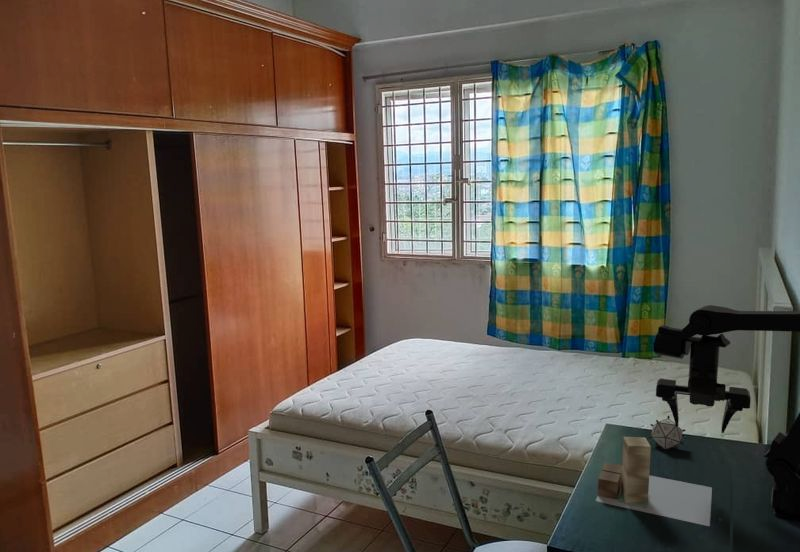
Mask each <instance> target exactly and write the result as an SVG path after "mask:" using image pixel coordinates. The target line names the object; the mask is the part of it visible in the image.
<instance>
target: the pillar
mask: <svg viewBox="0 0 800 552" xmlns="http://www.w3.org/2000/svg"><path fill="white" fill-rule="evenodd" d="M647 439H648V438H646V437H643V436H642V437H639V436H623V441H622V443H623V445H622V446H623V447H622V461H621V462H622V463H621V464H622V484H621V493H622V496H623V498H624V500H625V503H632V504H648V490H649V475H650V469H651V454H652V453H651V450H652V448H651V447H652V446H651V445H650V443H649V441H648V440H647Z"/></svg>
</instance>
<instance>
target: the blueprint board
mask: <svg viewBox="0 0 800 552" xmlns="http://www.w3.org/2000/svg"><path fill="white" fill-rule="evenodd" d="M712 490H713V487H711V486H706V485H701V484H695V483H692V482H691V483H690V482H685V481H680V480H676V479H675V480H674V479H670V478H664V477H660V476H655V475H650V474H649V490H648V504H632V503H625V500H624V498H623V496H622V493H621V489H620V492H619V495H618V498H617V500H616V499H611V498H607V497H602V496H598V495H597V496H596V498H595V502H598V503H602V504H607V505H611V506H616V507H619V508H620V507H621V508H624V509H629V510H634V511H638V512H642V513H647V514H652V515H657V516H660V517H661V516H662V517H665V518H670V519H674V520H678V521H682V522H683V521H684V522H687V523H692V524H695V525H701V526H705V527H710V526H711V514H712V512H711V510H712V495H713V493H712V492H713V491H712Z"/></svg>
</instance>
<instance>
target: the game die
mask: <svg viewBox="0 0 800 552" xmlns="http://www.w3.org/2000/svg"><path fill="white" fill-rule="evenodd" d="M666 417H667V418H666V419H662V420H660V421H659V420H658V419H656V420H655V422H656V423H655V424H652V423H651V424H650V426H651V427H652V430H651V433H650V434H651V435H650V436H648V437H647V439H648V440H650V439H652V440H653V441H654V442H655V445H659V447H661V448H662V449H664V450H669V449H672V448H674V447H675V448H676V449H678V445H680V444H681V445H685V443H684V442H683V441H682V440H683V432H686V429H682V428H681V427H679V423H680V422H678V427H677V426H676V424H675V421H672V419H670V415H668V416H666Z"/></svg>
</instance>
